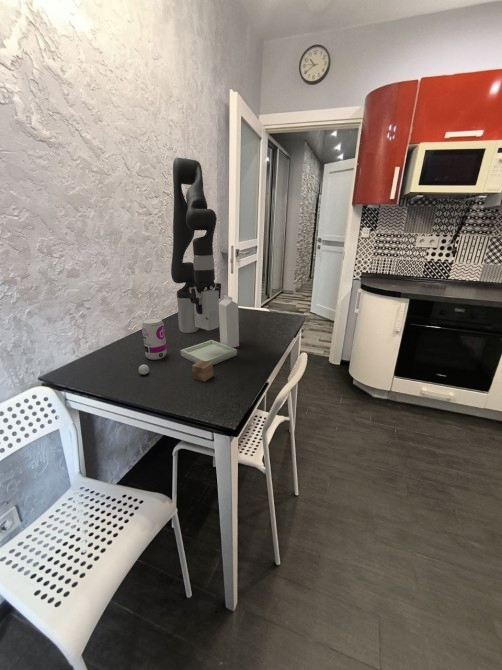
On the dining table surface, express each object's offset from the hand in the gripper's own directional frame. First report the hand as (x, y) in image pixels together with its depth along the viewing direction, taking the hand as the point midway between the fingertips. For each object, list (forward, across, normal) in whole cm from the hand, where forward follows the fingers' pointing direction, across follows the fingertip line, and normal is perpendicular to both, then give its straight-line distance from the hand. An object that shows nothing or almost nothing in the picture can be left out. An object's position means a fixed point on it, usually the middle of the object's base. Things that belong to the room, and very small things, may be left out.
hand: (206, 311), depth 117 cm
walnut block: (+18, +13, +13) cm, 26 cm away
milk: (+18, -13, -2) cm, 23 cm away
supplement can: (+18, +15, -15) cm, 28 cm away
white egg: (+16, +26, -4) cm, 31 cm away
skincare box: (+6, 0, 0) cm, 6 cm away
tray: (+18, 0, 0) cm, 18 cm away
